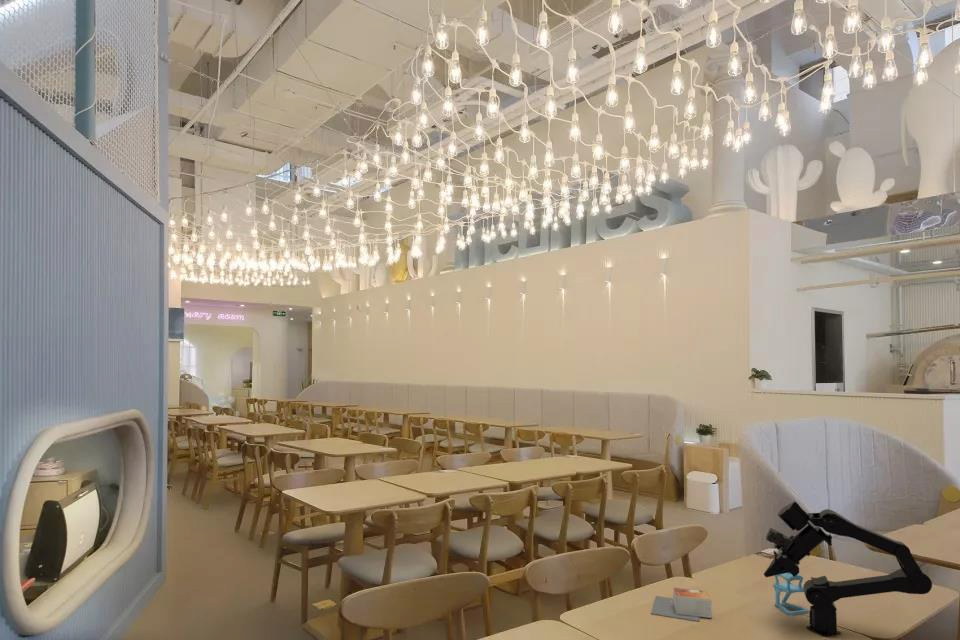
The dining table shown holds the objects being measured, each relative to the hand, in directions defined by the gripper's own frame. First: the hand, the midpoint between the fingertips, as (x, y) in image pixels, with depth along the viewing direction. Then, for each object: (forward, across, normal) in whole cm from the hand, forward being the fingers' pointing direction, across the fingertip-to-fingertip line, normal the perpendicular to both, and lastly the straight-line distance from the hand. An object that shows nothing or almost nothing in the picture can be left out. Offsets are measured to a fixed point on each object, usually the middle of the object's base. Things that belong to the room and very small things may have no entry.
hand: (764, 575), depth 188 cm
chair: (+5, -15, +15) cm, 21 cm away
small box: (+18, +1, -4) cm, 19 cm away
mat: (+28, 0, -9) cm, 29 cm away
